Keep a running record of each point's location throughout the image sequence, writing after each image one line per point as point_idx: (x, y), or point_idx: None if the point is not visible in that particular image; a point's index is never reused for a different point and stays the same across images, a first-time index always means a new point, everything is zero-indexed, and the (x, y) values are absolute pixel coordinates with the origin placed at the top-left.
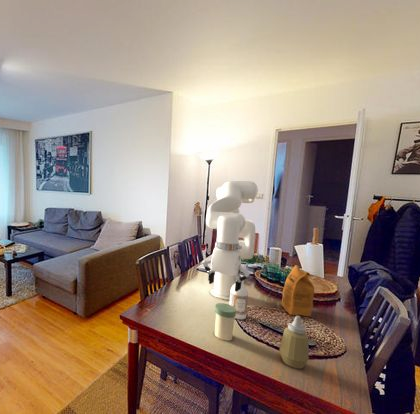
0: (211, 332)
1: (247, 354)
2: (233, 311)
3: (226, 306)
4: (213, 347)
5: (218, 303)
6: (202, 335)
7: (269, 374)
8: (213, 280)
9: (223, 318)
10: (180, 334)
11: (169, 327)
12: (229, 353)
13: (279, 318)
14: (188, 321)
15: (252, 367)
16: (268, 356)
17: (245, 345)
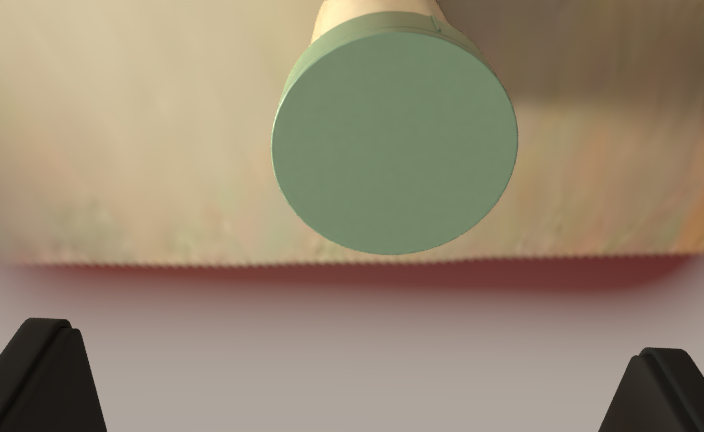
0: (292, 57)
1: (558, 154)
2: (493, 187)
3: (395, 116)
4: None
5: (285, 100)
6: (262, 147)
7: (666, 250)
8: (61, 382)
9: None
10: (158, 234)
11: (57, 211)
12: None
13: None
14: (77, 23)
15: (586, 252)
16: (688, 79)
17: (542, 53)
